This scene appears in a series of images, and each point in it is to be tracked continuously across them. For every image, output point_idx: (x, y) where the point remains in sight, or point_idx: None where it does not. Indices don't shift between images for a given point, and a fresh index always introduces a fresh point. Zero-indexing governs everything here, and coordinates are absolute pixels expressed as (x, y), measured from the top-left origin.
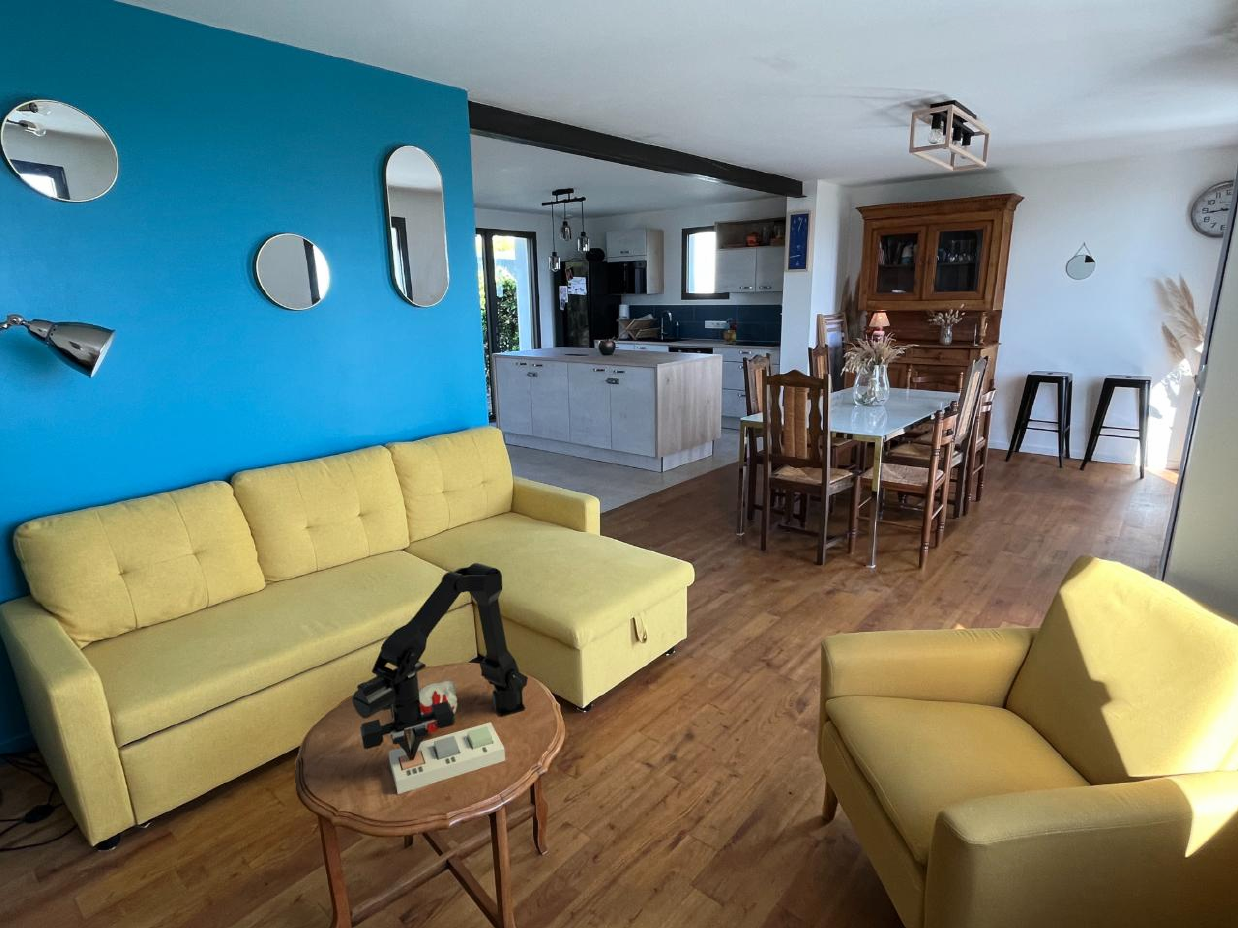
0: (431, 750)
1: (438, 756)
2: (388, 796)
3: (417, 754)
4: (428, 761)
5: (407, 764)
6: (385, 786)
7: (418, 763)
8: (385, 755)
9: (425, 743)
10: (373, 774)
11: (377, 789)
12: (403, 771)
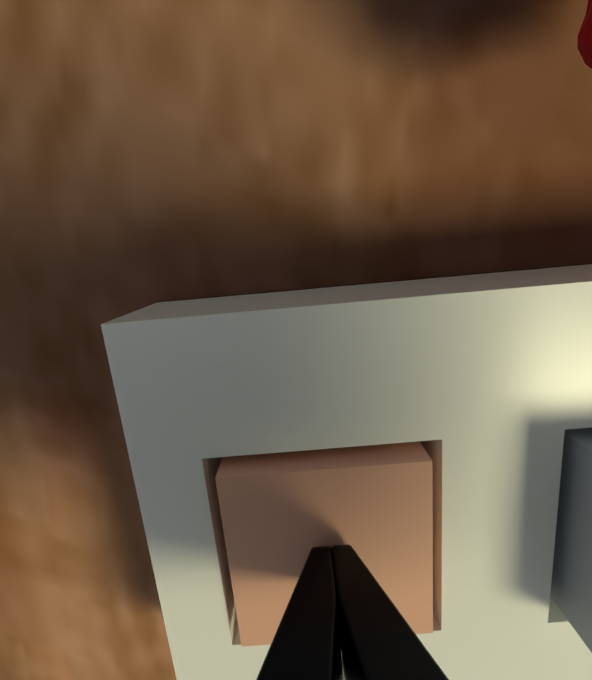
0: (534, 477)
1: (578, 632)
2: (159, 624)
3: (395, 513)
4: (468, 612)
5: None
6: (136, 538)
7: None
8: (114, 173)
9: (508, 340)
10: (41, 390)
11: (87, 547)
12: (247, 655)
